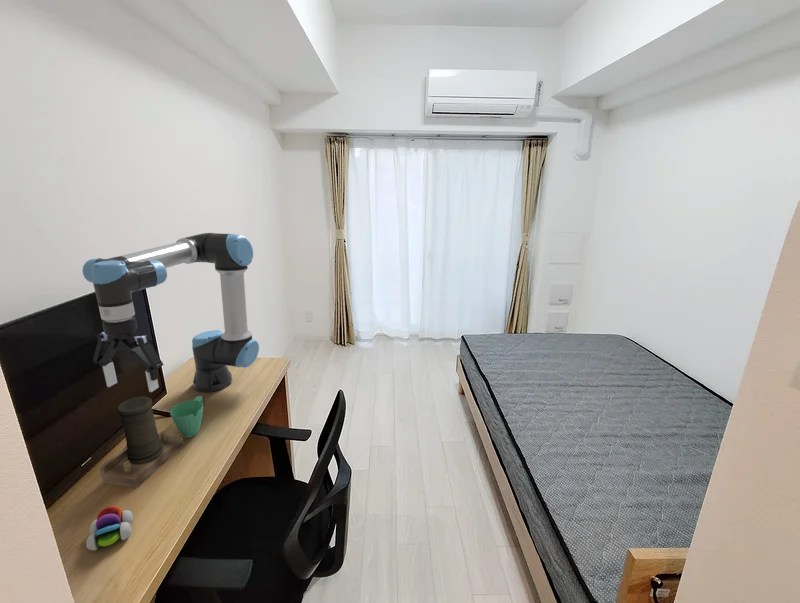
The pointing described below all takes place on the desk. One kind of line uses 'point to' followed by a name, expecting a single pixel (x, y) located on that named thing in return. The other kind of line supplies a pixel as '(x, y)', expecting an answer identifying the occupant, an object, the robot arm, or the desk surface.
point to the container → (140, 430)
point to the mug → (188, 416)
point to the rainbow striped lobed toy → (109, 527)
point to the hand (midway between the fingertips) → (133, 387)
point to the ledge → (135, 474)
